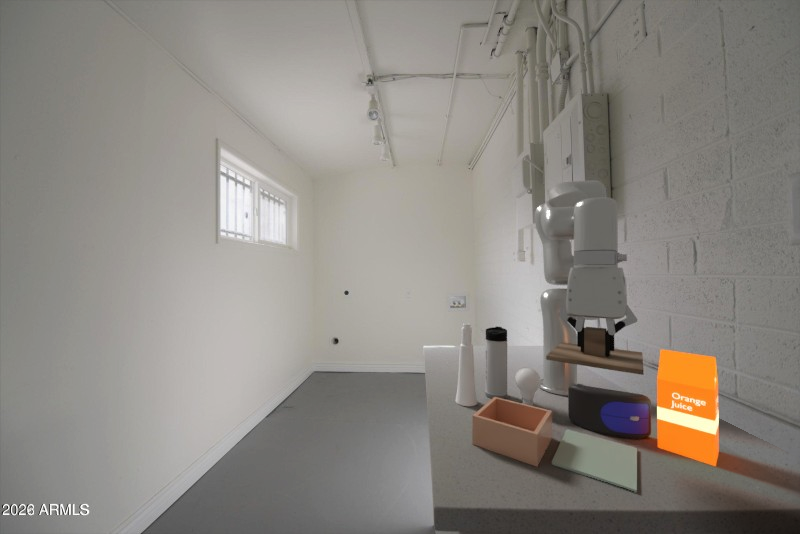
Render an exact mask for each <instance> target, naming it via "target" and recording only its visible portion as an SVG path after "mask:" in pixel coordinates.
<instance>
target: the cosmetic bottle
mask: <svg viewBox="0 0 800 534" xmlns="http://www.w3.org/2000/svg"><path fill="white" fill-rule="evenodd" d="M471 325H472V324H470V323H467V322H464V323H462V326H461V343H460V344H459V353H458V354H459V357H458V358H459V359H458V376H457V387H456V389H457V390H456V395H455V402H456V404H457V405H460V406H463V407H474V406H476V405H478V399H477V391H476V380H475V359H474V358H475V357H474V345H473V344H472V342H473V340H472V327H471Z"/></svg>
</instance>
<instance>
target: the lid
mask: <svg viewBox="0 0 800 534" xmlns="http://www.w3.org/2000/svg"><path fill="white" fill-rule="evenodd" d="M584 328H585V329H584V352H581V347H578V346H577V344H571V343H563V342H561V343H560V344H559V345H558V346H556V347H555V348H554V349H553V350H552V351H551V352H550V353H549V354H547V355H546V360H552V361H558V362H564V363H570V364H577V366H584V367H589V368H597V369H604V370H609V371H616V372H621V373H622V372H623V373H628V374H635V375H641V376H642V375H643V376H644V358H643V352H642V351H635V350H626V349H618V348H614V351H610V356H607V355H605V335H606V331H607V328H604V327H593V326H585V327H584Z"/></svg>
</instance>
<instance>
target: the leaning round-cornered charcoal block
mask: <svg viewBox="0 0 800 534" xmlns="http://www.w3.org/2000/svg"><path fill="white" fill-rule="evenodd" d="M577 384H578V383H577ZM577 384H574V385H571V386H569V388H568V396H567V397H568V401H567V402H568V404H567V405H568V413H567V414H568V415H567V416H568V419H569V421H570V422H571V423H573V424H574V425H576V426H578V427H580V426H581V428H583V429H585V430H589V431H591V430H592V432H595V433H599V434H602V435H603V434H604V435H607V436H613V437H617V438H618V437H619V438H625V439H638V440H639V439H640V440H641V439H646V438H649V437H650V436H651V434H652V400H651V399H650V398H649V397H648V396H646V395H644V394H640V393H634V392H628V391H622V390H615V389H610V388H604V387H603V388H602V387H596V386H590V385H582V384H579V385H577Z"/></svg>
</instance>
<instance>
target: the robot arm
mask: <svg viewBox="0 0 800 534" xmlns="http://www.w3.org/2000/svg"><path fill="white" fill-rule="evenodd" d="M618 215H619V214H618V202H617V201H616V200H615V199H614V198H612V197H608V196H607V189H606V186H605V184H604V183H603V182H602V181H600V180H595V179H592V180H591V179H590V180H589V179H588V180H576V181H575V180H574V181H566V182H561V183H558V184H556V185H555V186H553V187H552V188H551V189H550V191H549V194H548V200H547V201H546V202H545V203H542V204H540V205H539V206H537V207H536V209H535V212H534V222H535V223H534V224H535V228H536V232H537V234H538V236H539V238H540V241H541V245H542V254H543V255H542V256H543V273H544V279H545V281H546V282H547V283H548V284H550V285H554V286H567V288H559V287H558V288H549V289H546V290H544V291H542V293H541V295H540V300H539V301H540V303H539V304H540V310H541V315H542V326H543V327H542V329H543V330H542V331H543V333H542V334H543V335H542V336H543V343H542V344H543V378H542V379H540V380H541V382H540V386H539V388H540V389H541V390H543V391H545V392H548V393H550V394H555V395H558V396H559V395H560V396H567V397H568V388H569V386H571V385H574V384H577V385H580V384H579V383H578V365H577V364H570V363H564V362H558V361H552V360H546V355H547V354H549V353H550V352H551V351H552V350H553V349H554V348H555V347H556V346H558V345H559V344H560V343H561V342H563V343H571V344H577V346H578V347H581V352H584V329H585V328H586V327H585V323H586V321H596V320H599V319H605V323H606V327H607V328H606V335H605V355H607V356H610V351H614V349H615V335H616V334H617V333H618V332H620V331H621V330H622V329H624V328H626V327H627V326H631V325H633V324H635V323H637V322H638V317H636V315H635V314H634V312H633V311H632V309H631V308H630V307H629V305H628V302H627V300H628V299H627V284H626V278H625V273H624V269H623V267H619V264H620V263H622V262H627V261H628V258H627V257H628V255H627V254H624V253H620V252H618V249H619V247H618V245H619V244H618V241H619V240H618V238H619V237H618V236H619V235H618V233H619V232H618V225H619V224H618ZM571 240H573V252H572V242H571ZM625 316H626V318H624V317H625ZM623 318H624V319H623ZM620 319H621V320H620ZM615 320H619V321H618V322H615Z"/></svg>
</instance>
